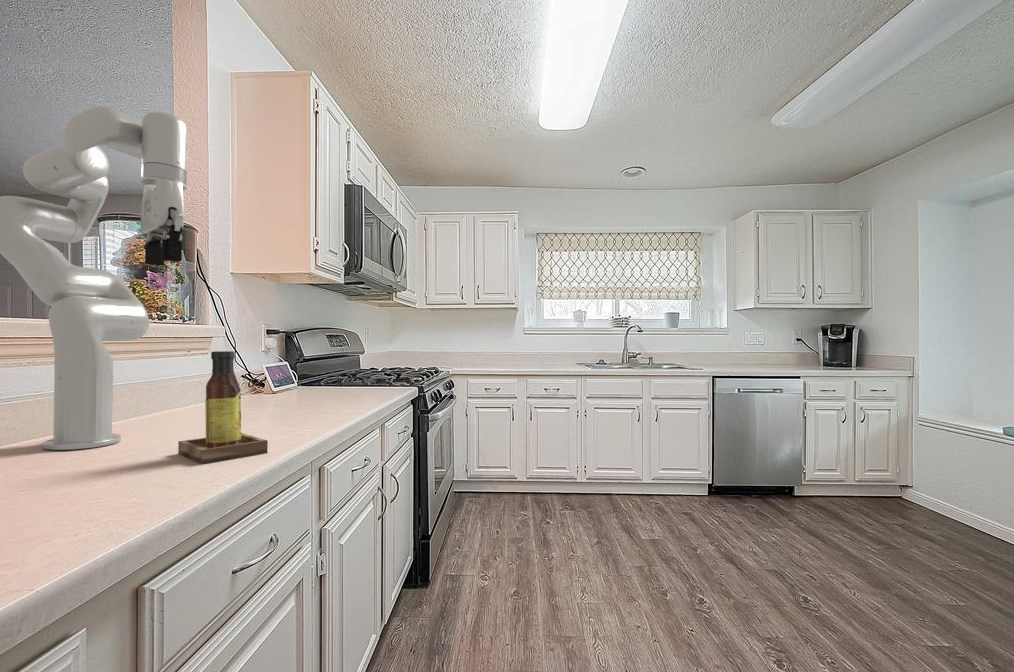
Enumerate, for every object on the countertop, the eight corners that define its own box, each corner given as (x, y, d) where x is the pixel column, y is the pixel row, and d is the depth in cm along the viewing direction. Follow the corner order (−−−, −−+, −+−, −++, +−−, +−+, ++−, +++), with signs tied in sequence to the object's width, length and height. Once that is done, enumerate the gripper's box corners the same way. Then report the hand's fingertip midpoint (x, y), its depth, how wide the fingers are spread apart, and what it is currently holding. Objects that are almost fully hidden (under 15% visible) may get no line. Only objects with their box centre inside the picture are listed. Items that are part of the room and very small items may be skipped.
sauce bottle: (247, 448, 100) (248, 351, 101) (215, 454, 95) (217, 351, 95) (229, 444, 104) (231, 350, 104) (198, 450, 99) (199, 350, 99)
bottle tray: (178, 453, 98) (178, 441, 98) (240, 444, 108) (241, 432, 108) (202, 464, 91) (202, 450, 91) (267, 452, 100) (267, 440, 100)
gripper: (128, 181, 102) (127, 264, 102) (157, 164, 91) (155, 256, 91) (170, 190, 108) (169, 268, 108) (202, 175, 97) (200, 261, 97)
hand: (162, 262), depth 100 cm, fingers open, 9 cm apart
